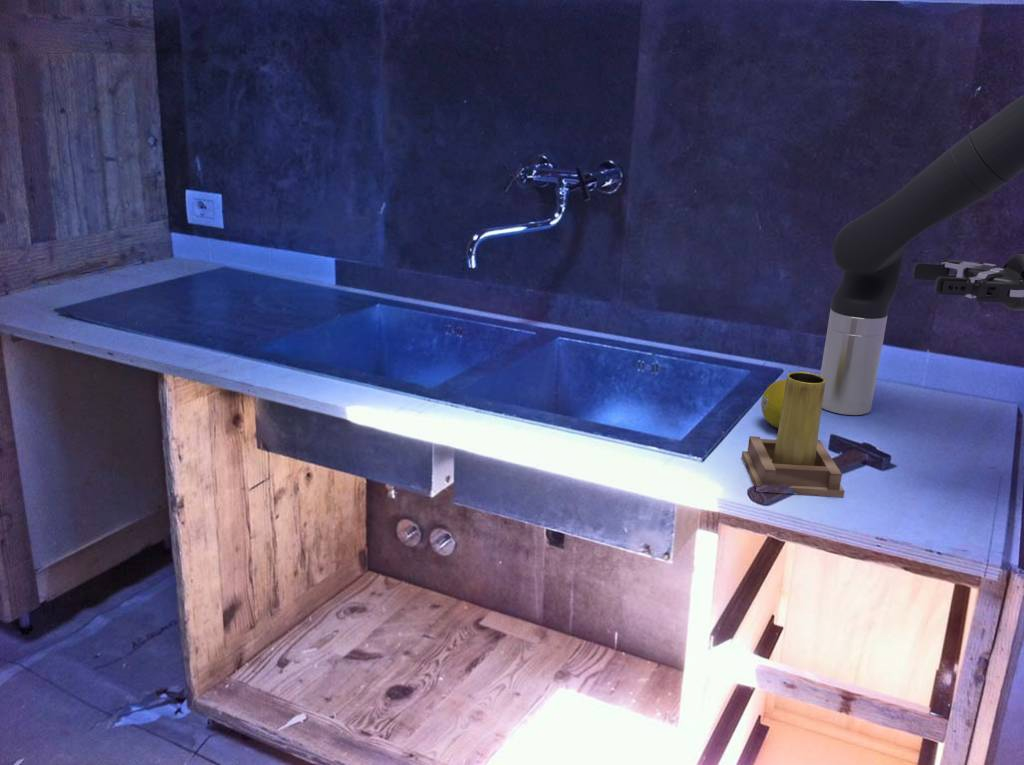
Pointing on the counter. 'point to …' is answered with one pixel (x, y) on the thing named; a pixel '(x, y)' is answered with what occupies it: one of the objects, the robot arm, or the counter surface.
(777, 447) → the vase
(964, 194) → the robot arm
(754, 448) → the socket block
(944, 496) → the counter surface
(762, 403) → the lemon
